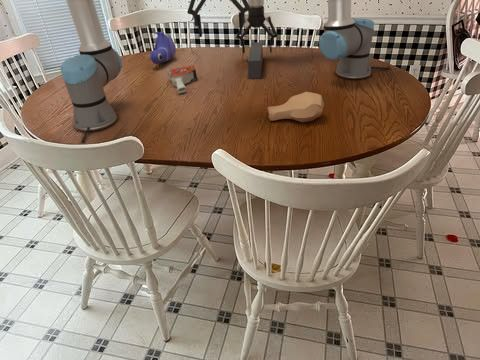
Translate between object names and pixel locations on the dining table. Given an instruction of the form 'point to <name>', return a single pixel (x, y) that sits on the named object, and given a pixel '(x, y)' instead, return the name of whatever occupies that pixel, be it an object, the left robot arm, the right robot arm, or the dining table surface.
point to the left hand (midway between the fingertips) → (220, 35)
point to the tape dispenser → (181, 77)
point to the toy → (162, 49)
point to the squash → (298, 108)
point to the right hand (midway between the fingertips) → (257, 52)
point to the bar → (255, 60)
